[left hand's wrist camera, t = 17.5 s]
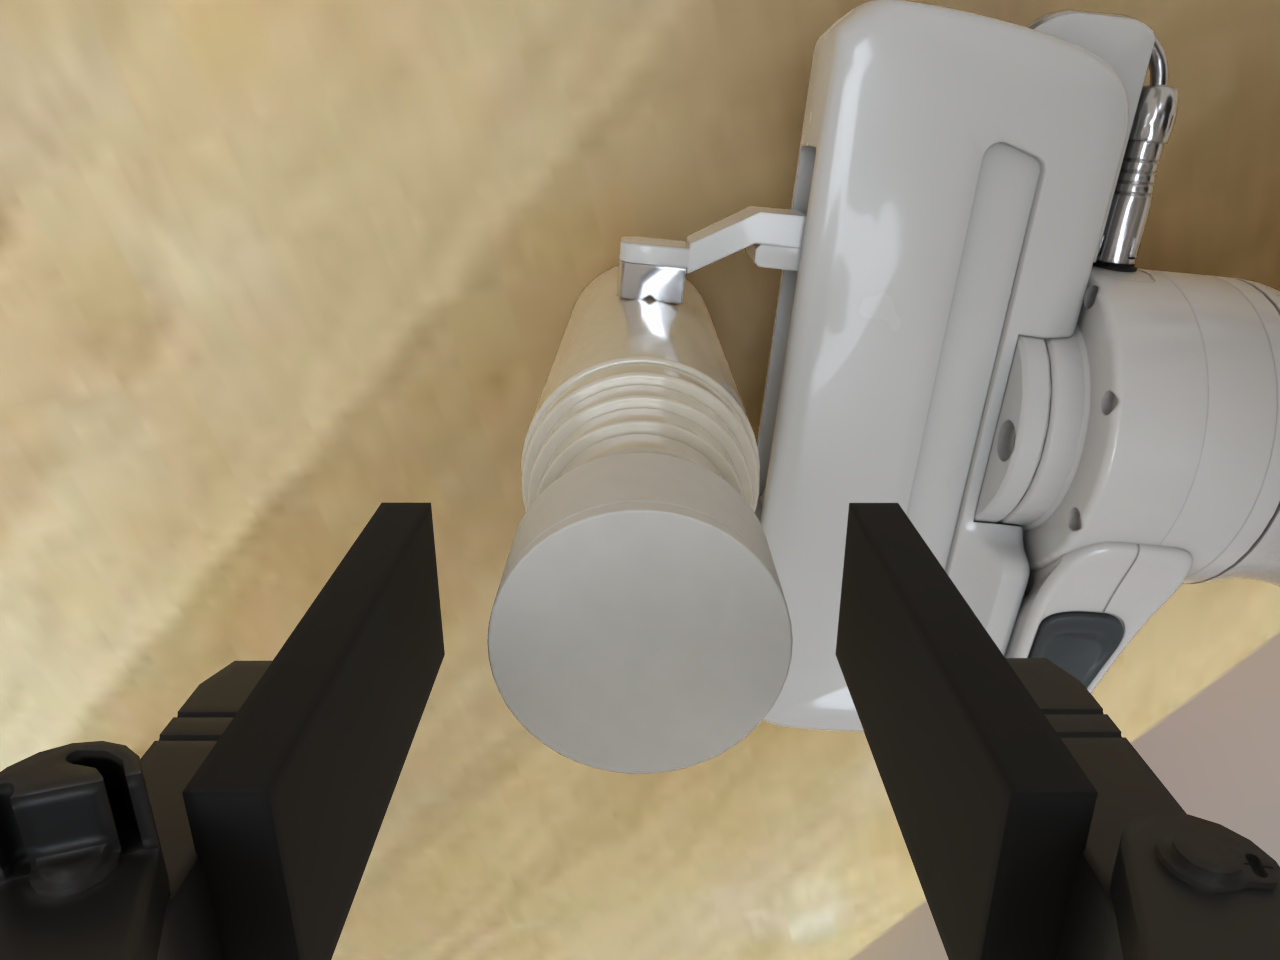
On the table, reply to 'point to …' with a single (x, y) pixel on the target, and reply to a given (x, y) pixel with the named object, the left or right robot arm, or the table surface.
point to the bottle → (639, 392)
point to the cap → (640, 616)
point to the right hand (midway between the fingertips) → (609, 380)
